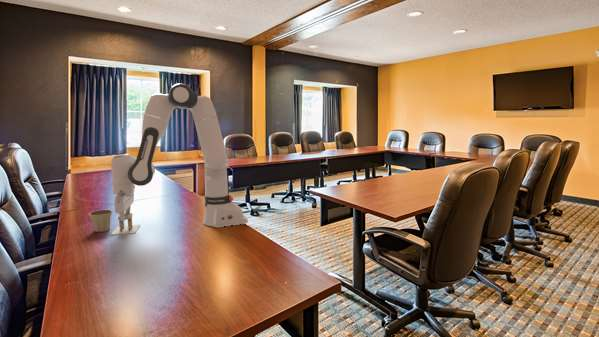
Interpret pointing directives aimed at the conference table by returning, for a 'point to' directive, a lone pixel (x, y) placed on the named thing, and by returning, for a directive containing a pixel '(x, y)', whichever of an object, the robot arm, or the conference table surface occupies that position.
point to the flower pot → (101, 220)
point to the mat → (125, 230)
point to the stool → (129, 217)
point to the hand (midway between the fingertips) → (125, 217)
